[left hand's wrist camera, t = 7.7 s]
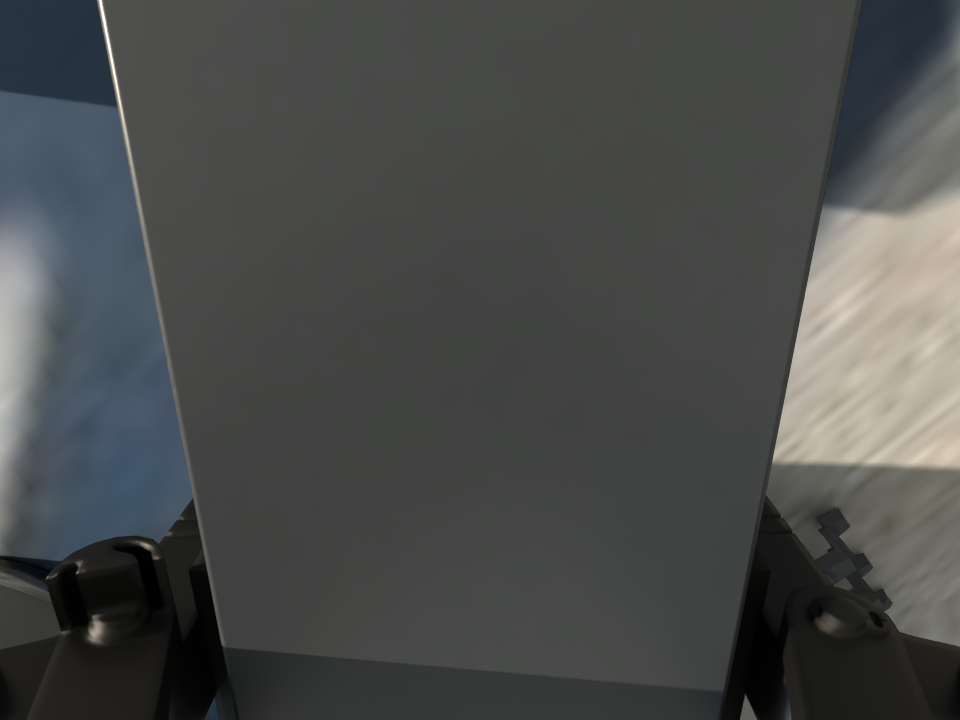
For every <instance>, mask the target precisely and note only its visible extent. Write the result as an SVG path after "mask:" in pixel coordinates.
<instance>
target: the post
mask: <svg viewBox="0 0 960 720" xmlns="http://www.w3.org/2000/svg"><path fill="white" fill-rule="evenodd" d="M97 3H98V8H99V13H100V18H101V23H102V28H103V34H104V39H105V44H106V49H107V54H108V60H109V65H110V70H111V75H112V80H113V85H114V91H115V96H116V101H117V106H118V111H119V116H120V122H121V127H122V132H123V137H124V142H125V147H126V153H127V158H128V163H129V168H130V173H131V178H132V184H133V189H134V194H135V199H136V204H137V209H138V215H139V220H140V225H141V230H142V235H143V240H144V246H145V251H146V256H147V261H148V266H149V271H150V277H151V282H152V287H153V292H154V297H155V302H156V308H157V313H158V318H159V323H160V328H161V334H162V339H163V344H164V349H165V354H166V359H167V365H168V370H169V375H170V380H171V385H172V390H173V396H174V401H175V406H176V411H177V416H178V421H179V427H180V432H181V437H182V442H183V447H184V452H185V458H186V463H187V468H188V473H189V478H190V483H191V489H192V494H193V499H194V504H195V509H196V514H197V520H198V525H199V530H200V535H201V540H202V545H203V551H204V556H205V561H206V566H207V571H208V576H209V582H210V587H211V592H212V597H213V602H214V607H215V613H216V618H217V623H218V628H219V633H220V639H221V644H222V649H223V654H224V659H225V664H226V670H227V675H228V680H229V685H230V690H231V695H232V701H233V706H234V711H235V716H236V720H722V715H723V710H724V705H725V700H726V695H727V689H728V684H729V679H730V674H731V669H732V664H733V659H734V654H735V649H736V643H737V638H738V633H739V628H740V623H741V618H742V613H743V608H744V603H745V597H746V592H747V587H748V582H749V577H750V572H751V567H752V562H753V557H754V551H755V546H756V541H757V536H758V531H759V526H760V521H761V516H762V511H763V506H764V500H765V495H766V490H767V485H768V480H769V475H770V470H771V465H772V460H773V454H774V449H775V444H776V439H777V434H778V429H779V424H780V419H781V414H782V408H783V403H784V398H785V393H786V388H787V383H788V378H789V373H790V368H791V362H792V357H793V352H794V347H795V342H796V337H797V332H798V327H799V322H800V317H801V311H802V306H803V301H804V296H805V291H806V286H807V281H808V276H809V271H810V265H811V260H812V255H813V250H814V245H815V240H816V235H817V230H818V225H819V219H820V214H821V209H822V204H823V199H824V194H825V189H826V184H827V179H828V174H829V168H830V163H831V158H832V153H833V148H834V143H835V138H836V133H837V128H838V122H839V117H840V112H841V107H842V102H843V97H844V92H845V87H846V82H847V76H848V71H849V66H850V61H851V56H852V51H853V46H854V41H855V36H856V30H857V25H858V20H859V15H860V10H861V5H862V0H97Z"/></svg>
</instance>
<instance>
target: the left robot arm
mask: <svg viewBox="0 0 960 720" xmlns="http://www.w3.org/2000/svg"><path fill="white" fill-rule="evenodd" d="M745 694H746V696H747V699H748V701H749V703H750V705H751V707H752V710H753V712H754V714H755V716H756V718H757V720H960V647H958V646H954V645H950V644H945V643H941V642H936V641H932V640H928V639H923V638H919V637H915V636H911V635H908V634H904V633H901V632H899V630H898V629H897V627H896V626H895V624H894V623H893V621H892V620H891V618H890V617H889V616H888V615H887V614H886V613H885V612H883V611H882V610H881V609H880V608H878V607H877V606H876V605H875V604H874V603H872V602H871V601H869V600H867V599H865V598H863V597H861V596H859V595H857V594H855V593H853V592H851V591H847V590H844V589H841V588H837V587H834V586H833V584H832V583H831V582H830V580H829V579H828V578H827V576H826V575H825V574H824V572H823V571H822V570H821V568H820V567H819V565H818V564H817V563H816V561H815V560H814V559H813V557H812V556H811V555H810V553H809V552H808V551H807V549H806V548H805V547H804V545H803V544H802V543H801V541H800V540H799V539H798V537H797V536H796V535H795V534H792V529H791V528H790V527H789V525H788V524H787V523H786V521H785V520H784V519H783V518H781V517H780V513H779V512H778V511H777V509H776V508H775V507H774V505H773V504H772V503H771V501H770V500H769V499H768V497H767V496H766V495H765V500H764V506H763V511H762V516H761V521H760V526H759V531H758V536H757V541H756V546H755V551H754V557H753V562H752V567H751V572H750V577H749V582H748V587H747V592H746V597H745V603H744V608H743V613H742V618H741V623H740V628H739V633H738V638H737V643H736V649H735V654H734V659H733V664H732V669H731V674H730V679H729V684H728V689H727V695H726V700H725V705H724V710H723V715H722V720H740V717H741V713H742V708H743V703H744V698H745ZM214 696H215V701H216V705H217V710H218V715H219V720H236V716H235V711H234V706H233V701H232V695H231V690H230V685H229V680H228V675H227V670H226V664H225V659H224V654H223V649H222V644H221V639H220V633H219V628H218V623H217V618H216V613H215V607H214V602H213V597H212V592H211V587H210V582H209V576H208V571H207V566H206V561H205V556H204V551H203V545H202V540H201V535H200V530H199V525H198V520H197V514H196V509H195V504H194V499H192V500H191V502H190V503H189V504H188V506H187V507H186V508H185V510H184V511H183V513H182V514H181V515H180V517H179V520H177V521H176V522H175V523H174V525H173V526H172V527H171V529H170V530H169V531H168V536H165V537H164V538H163V539H162V541H161V542H160V544H158V543H157V542H155V541H154V540H153V539H150V538H145V537H140V536H125V537H115V538H111V539H107V540H103V541H100V542H96V543H93V544H91V545H89V546H87V547H85V548H82V549H80V550H78V551H76V552H74V553H72V554H71V555H69V556H68V557H67V558H65V559H64V560H63V561H61V562H60V563H58V564H57V565H56V566H55V567H54V568H53V570H52V571H51V572H50V573H48V572H45V571H43V570H40V569H38V568H35V567H31V566H28V565H25V564H21V563H17V562H13V561H8V560H2V559H0V720H204V718H205V716H206V714H207V712H208V710H209V707H210V705H211V703H212V701H213V699H214Z"/></svg>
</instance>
